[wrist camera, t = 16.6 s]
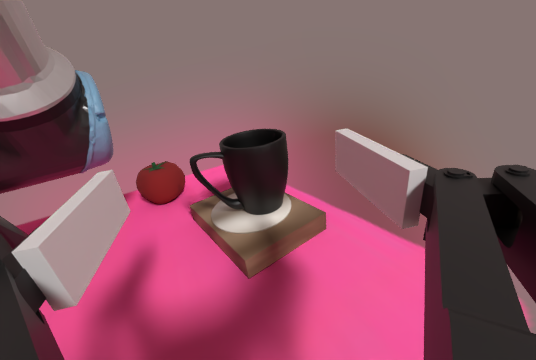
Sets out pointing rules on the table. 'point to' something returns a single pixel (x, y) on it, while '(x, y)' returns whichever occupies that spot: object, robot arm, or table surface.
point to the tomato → (160, 182)
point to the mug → (251, 169)
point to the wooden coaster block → (258, 230)
